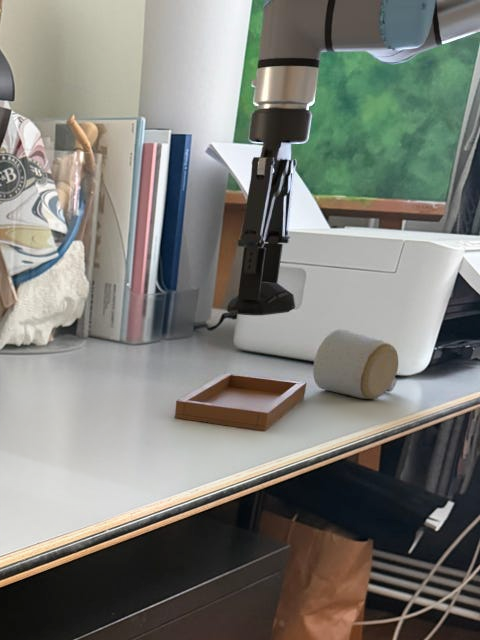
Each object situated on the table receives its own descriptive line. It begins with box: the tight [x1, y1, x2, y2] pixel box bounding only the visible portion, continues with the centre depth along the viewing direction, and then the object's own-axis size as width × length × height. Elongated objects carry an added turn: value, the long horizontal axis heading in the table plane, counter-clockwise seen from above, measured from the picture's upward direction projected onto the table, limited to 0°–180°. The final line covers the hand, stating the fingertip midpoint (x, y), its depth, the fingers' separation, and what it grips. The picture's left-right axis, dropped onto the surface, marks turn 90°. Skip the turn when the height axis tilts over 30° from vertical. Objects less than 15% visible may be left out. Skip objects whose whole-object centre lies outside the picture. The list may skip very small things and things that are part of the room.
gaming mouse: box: [222, 282, 296, 318], centre depth 128 cm, size 6×15×4 cm, turn 133°
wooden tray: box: [174, 372, 307, 432], centre depth 113 cm, size 10×20×2 cm, turn 151°
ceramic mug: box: [312, 328, 399, 400], centre depth 120 cm, size 11×8×8 cm
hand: (257, 296), depth 129 cm, fingers closed on gaming mouse, 8 cm apart
